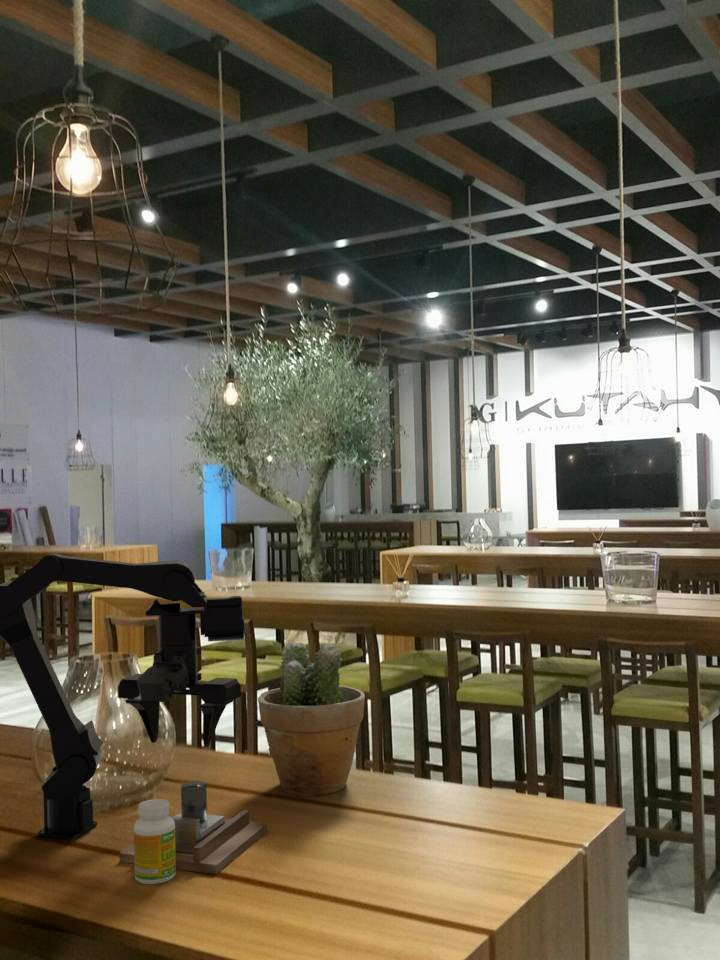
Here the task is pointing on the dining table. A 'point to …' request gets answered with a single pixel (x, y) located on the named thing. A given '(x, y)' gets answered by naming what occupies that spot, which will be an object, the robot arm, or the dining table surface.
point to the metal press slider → (194, 817)
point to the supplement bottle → (154, 843)
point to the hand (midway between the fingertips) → (180, 744)
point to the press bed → (215, 846)
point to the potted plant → (311, 722)
